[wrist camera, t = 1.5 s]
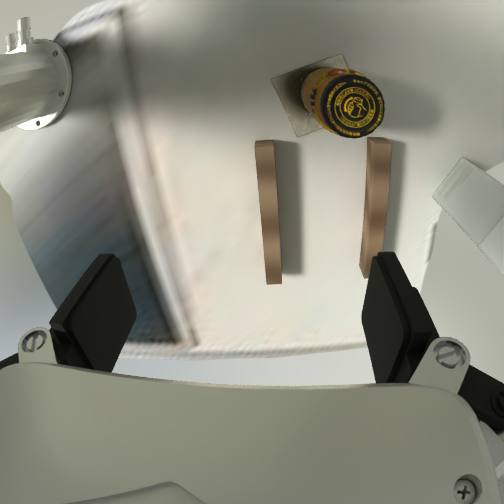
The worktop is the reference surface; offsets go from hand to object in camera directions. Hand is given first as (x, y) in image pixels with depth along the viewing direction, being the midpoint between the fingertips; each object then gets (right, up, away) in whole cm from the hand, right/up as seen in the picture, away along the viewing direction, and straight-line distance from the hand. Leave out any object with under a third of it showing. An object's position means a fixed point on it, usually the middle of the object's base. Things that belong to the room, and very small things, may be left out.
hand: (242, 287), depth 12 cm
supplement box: (+29, +10, +26) cm, 40 cm away
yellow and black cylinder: (+8, +19, +21) cm, 29 cm away
